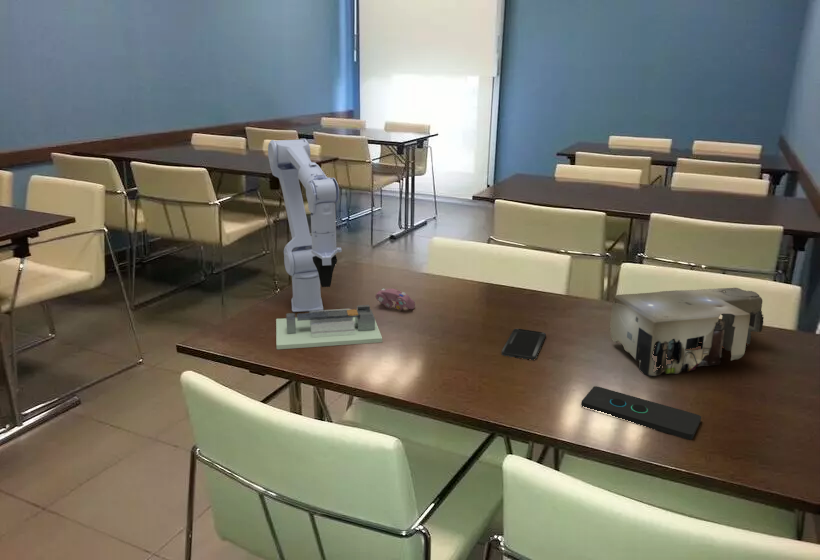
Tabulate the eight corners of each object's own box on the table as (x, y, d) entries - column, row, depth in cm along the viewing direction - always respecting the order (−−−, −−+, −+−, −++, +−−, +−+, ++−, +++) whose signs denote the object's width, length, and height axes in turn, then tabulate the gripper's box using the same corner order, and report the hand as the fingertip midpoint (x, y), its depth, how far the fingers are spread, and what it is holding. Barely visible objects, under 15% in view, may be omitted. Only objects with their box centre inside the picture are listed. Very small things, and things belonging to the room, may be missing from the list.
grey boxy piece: (786, 366, 139) (796, 307, 135) (649, 379, 133) (655, 318, 129) (730, 335, 156) (738, 283, 152) (606, 346, 150) (611, 292, 146)
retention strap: (297, 315, 153) (296, 312, 152) (365, 311, 156) (365, 308, 156) (297, 320, 150) (297, 317, 150) (367, 316, 153) (367, 313, 153)
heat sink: (309, 321, 157) (309, 309, 156) (350, 318, 159) (350, 307, 158) (311, 337, 148) (311, 325, 147) (354, 334, 150) (354, 322, 149)
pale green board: (276, 322, 159) (276, 318, 159) (372, 316, 164) (372, 313, 163) (276, 349, 144) (276, 345, 144) (382, 342, 149) (382, 338, 148)
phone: (546, 332, 153) (535, 358, 140) (546, 337, 154) (535, 362, 140) (514, 328, 156) (500, 352, 143) (513, 332, 156) (499, 356, 143)
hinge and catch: (286, 325, 155) (286, 309, 153) (371, 320, 159) (371, 304, 157) (287, 335, 149) (286, 319, 148) (374, 330, 153) (374, 313, 151)
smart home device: (594, 384, 128) (702, 414, 117) (593, 392, 128) (700, 422, 118) (580, 401, 121) (692, 434, 111) (579, 409, 122) (691, 443, 111)
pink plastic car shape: (377, 311, 172) (371, 292, 167) (384, 299, 174) (379, 281, 170) (410, 318, 167) (404, 299, 163) (417, 306, 170) (412, 287, 165)
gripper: (344, 237, 144) (345, 294, 148) (338, 223, 157) (339, 276, 161) (312, 238, 142) (314, 296, 147) (309, 224, 156) (311, 277, 160)
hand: (325, 286), depth 154 cm, fingers closed
